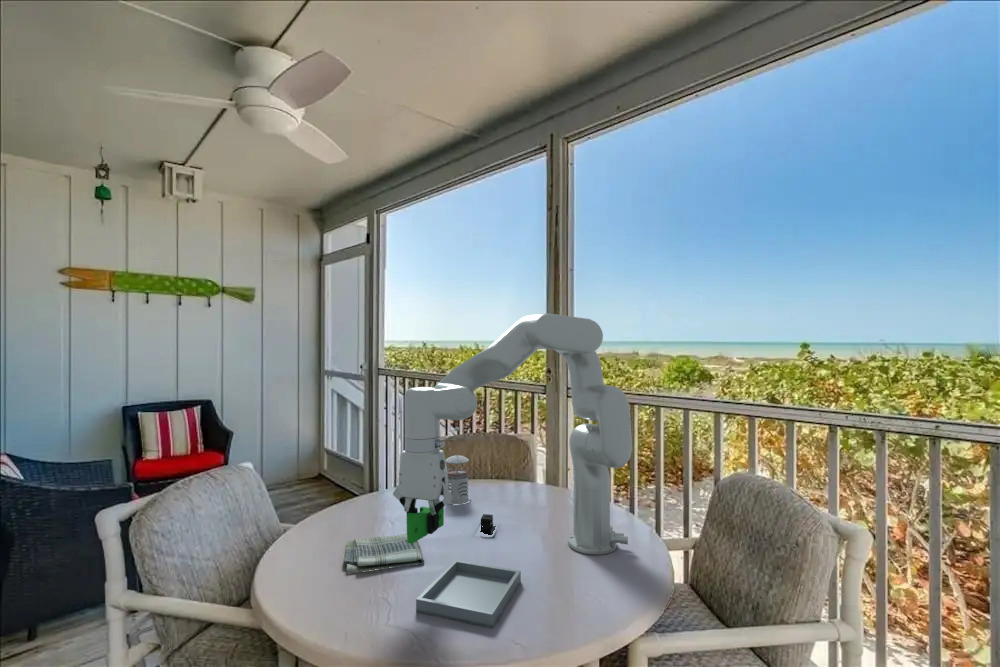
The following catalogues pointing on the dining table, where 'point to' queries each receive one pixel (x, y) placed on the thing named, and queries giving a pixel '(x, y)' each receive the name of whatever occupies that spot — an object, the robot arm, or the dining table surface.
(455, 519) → the dining table surface
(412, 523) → the pipe clamp
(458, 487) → the grey metal lantern
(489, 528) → the black block
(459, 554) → the dining table surface
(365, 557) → the dish towel
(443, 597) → the tray
